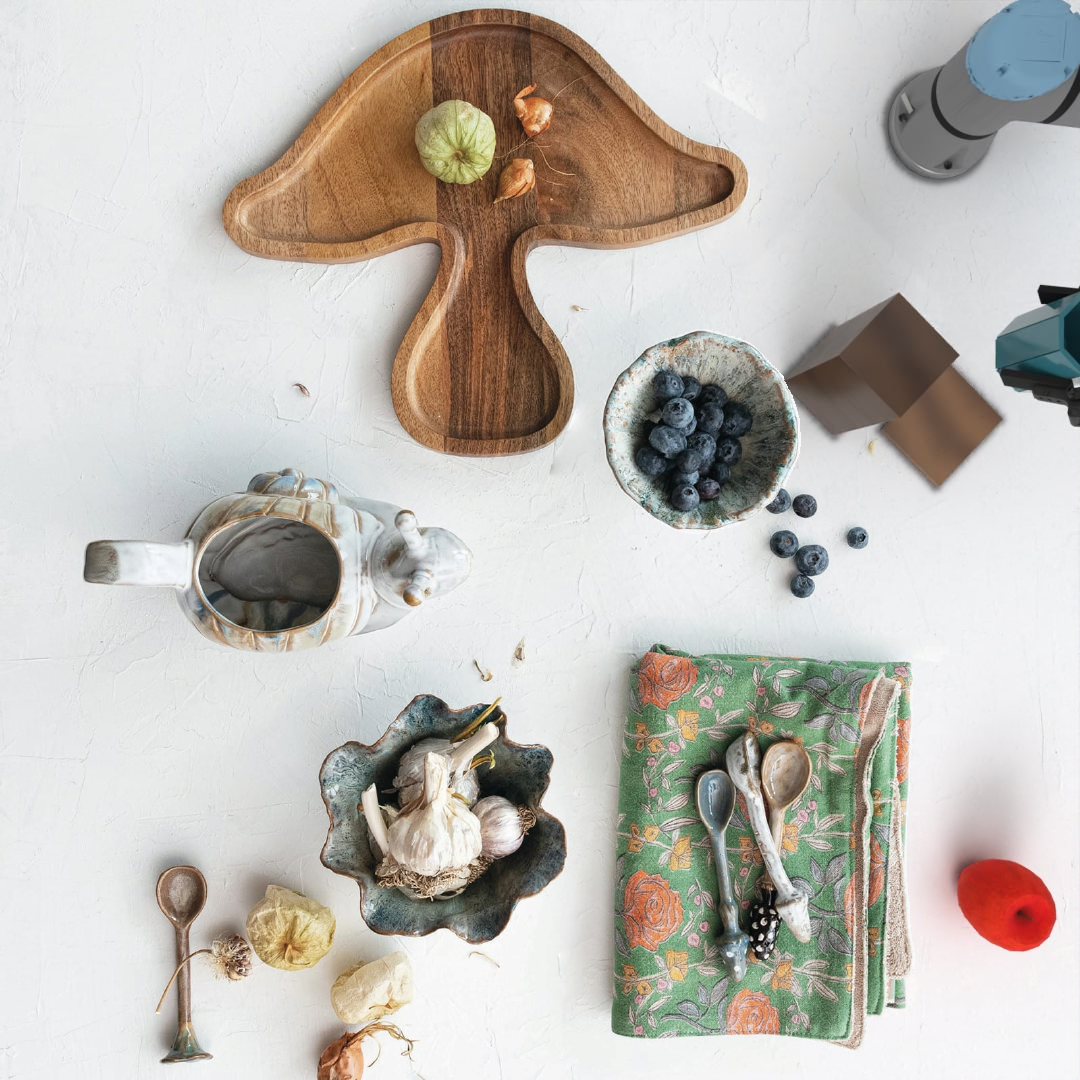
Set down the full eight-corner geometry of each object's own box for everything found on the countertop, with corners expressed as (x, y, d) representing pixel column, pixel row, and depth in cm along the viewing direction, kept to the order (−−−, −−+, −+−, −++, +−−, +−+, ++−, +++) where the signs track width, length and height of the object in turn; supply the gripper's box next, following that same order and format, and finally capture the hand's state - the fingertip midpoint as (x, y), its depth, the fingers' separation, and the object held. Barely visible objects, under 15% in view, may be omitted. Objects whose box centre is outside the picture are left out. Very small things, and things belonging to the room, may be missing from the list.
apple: (1019, 910, 128) (1081, 955, 115) (945, 929, 127) (1000, 976, 114) (1004, 834, 128) (1065, 870, 114) (930, 853, 127) (983, 891, 114)
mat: (943, 362, 126) (947, 361, 125) (999, 419, 127) (1003, 418, 126) (879, 430, 125) (883, 429, 124) (935, 487, 126) (939, 486, 125)
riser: (832, 329, 125) (899, 291, 105) (884, 382, 125) (960, 355, 105) (781, 382, 124) (838, 355, 104) (833, 435, 125) (900, 418, 105)
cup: (1031, 300, 91) (1099, 272, 81) (1083, 355, 92) (1156, 333, 82) (979, 353, 91) (1041, 332, 81) (1031, 408, 91) (1098, 393, 81)
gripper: (1247, 500, 76) (986, 442, 91) (1343, 283, 76) (1068, 261, 91) (1250, 471, 70) (972, 415, 85) (1354, 237, 71) (1059, 221, 86)
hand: (1022, 335), depth 88 cm, fingers closed on cup, 9 cm apart
